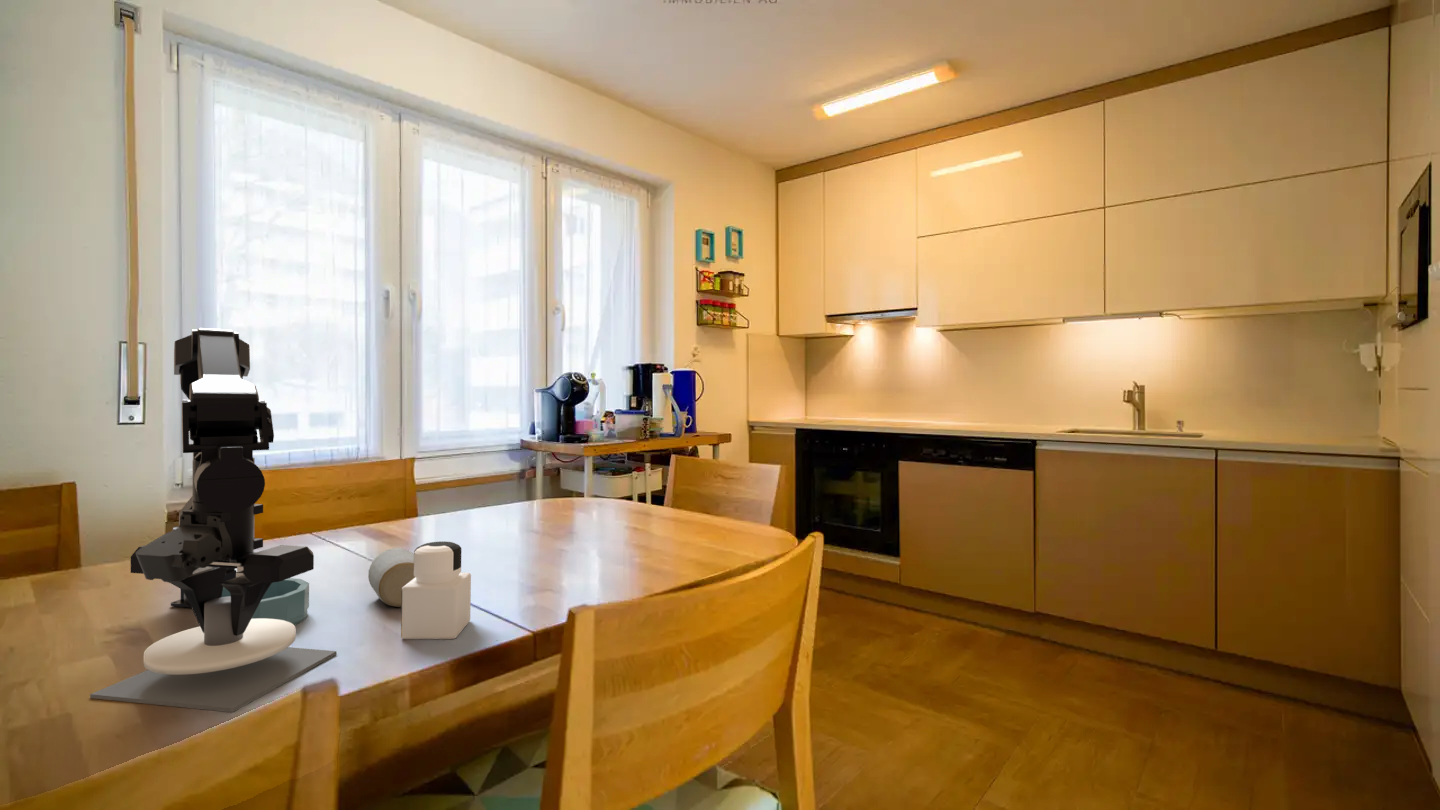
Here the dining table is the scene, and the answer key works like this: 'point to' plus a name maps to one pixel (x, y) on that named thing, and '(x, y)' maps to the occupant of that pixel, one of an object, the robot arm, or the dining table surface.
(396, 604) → the ceramic mug
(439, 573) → the medicine bottle
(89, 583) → the dining table surface
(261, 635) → the lid
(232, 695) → the mat
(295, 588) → the bowl
